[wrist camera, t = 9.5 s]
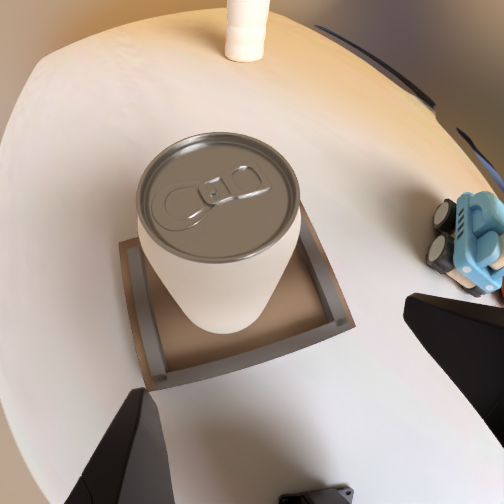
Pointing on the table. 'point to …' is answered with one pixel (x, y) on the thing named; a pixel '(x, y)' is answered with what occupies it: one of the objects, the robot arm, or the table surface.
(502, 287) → the fruit
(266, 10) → the water bottle
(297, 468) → the table surface
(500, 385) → the robot arm
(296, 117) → the table surface
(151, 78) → the table surface
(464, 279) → the toy excavator
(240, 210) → the can
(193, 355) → the dock
